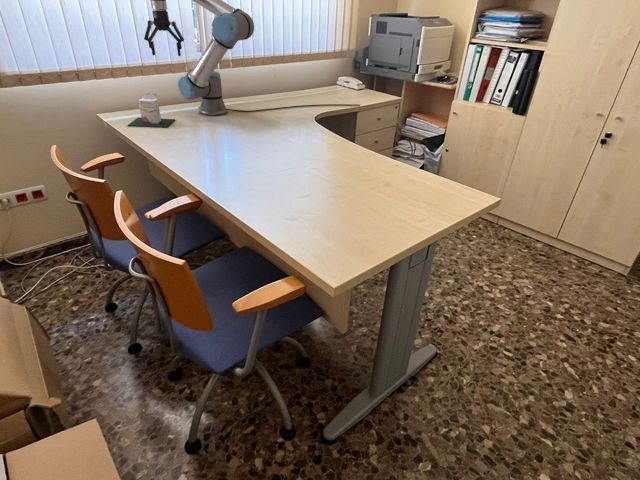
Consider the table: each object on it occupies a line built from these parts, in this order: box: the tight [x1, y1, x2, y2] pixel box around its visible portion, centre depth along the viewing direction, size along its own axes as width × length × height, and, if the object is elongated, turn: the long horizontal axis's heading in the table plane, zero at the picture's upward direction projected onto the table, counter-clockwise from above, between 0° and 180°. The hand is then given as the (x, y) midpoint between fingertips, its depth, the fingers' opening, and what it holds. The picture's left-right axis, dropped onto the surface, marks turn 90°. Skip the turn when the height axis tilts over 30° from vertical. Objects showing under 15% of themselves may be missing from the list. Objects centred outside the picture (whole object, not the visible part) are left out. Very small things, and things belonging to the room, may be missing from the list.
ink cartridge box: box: [138, 91, 162, 124], centre depth 206 cm, size 9×5×15 cm, turn 84°
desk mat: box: [127, 117, 176, 129], centre depth 210 cm, size 20×14×1 cm
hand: (166, 55), depth 214 cm, fingers open, 13 cm apart
